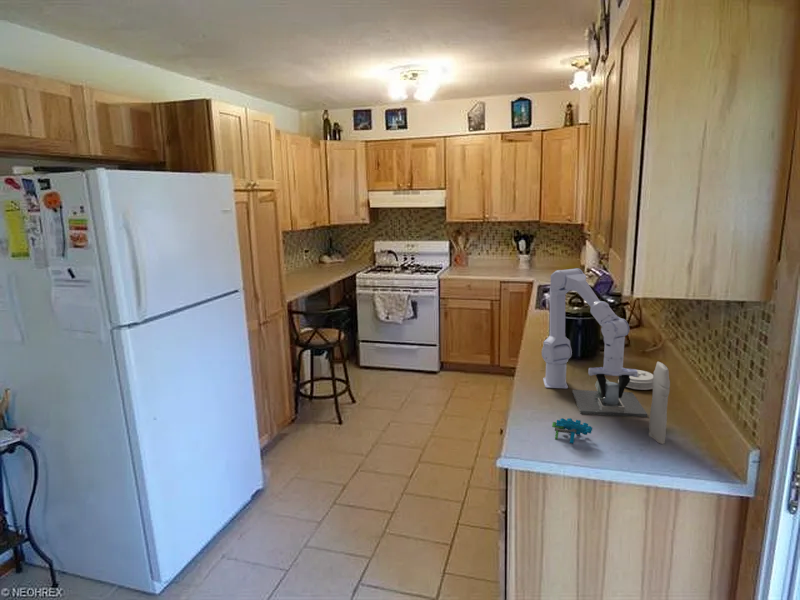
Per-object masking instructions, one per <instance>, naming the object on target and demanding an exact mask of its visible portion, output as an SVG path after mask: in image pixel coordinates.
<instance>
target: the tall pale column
mask: <svg viewBox="0 0 800 600" xmlns="http://www.w3.org/2000/svg"><path fill="white" fill-rule="evenodd" d="M652 374H653V389H652V397H651V398H652V399H651V405H650V415H649V423H648V424H649V425H648V436H649V438H652V439H654V441H656V442H657V444H660V445H665V443H666V433H667V420H668V418H667V415H668V413H667V412H668V401H669V395H670V390H671V389H670V387H671V380H670V372H669V368H668V366H667V365H666V364H664V363H663V362H660V361H657V362H656V364H655V368H654V371H653V373H652Z"/></svg>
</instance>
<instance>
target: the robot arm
mask: <svg viewBox="0 0 800 600" xmlns="http://www.w3.org/2000/svg"><path fill="white" fill-rule="evenodd" d="M570 291H574V292H576V293H577V294H578V295H579V296H580V297H581V298H582V299H583V300H584V301H585V303H587V305H588V306H589V307H590V311H589V312H590V314H591V315H592V316H593V317H594V319H595V321H596V322H597V323H598V324H599V326H600V327H601V328H600V331H601V334H602V337H603V343H604V347H603V348H604V349H603V350H604V351H603V366H600V367H599V366H598V367H588V372H587V373H588V376H595V377H596V380H598V382H599V385H600V389H601V396H602V397H605V384H606V379H607V378H606V376H611V377H613V376H614V377H618V379H619V383H618V384H619V385H620V387H619V398H622V394H623V392H625V390H626V388H627V387H626V386H627V384H628V383H629V382H630V378H629V376H633V377H637V375H638V371H637V370H638V369H636V368H625V367H624V354H625V339H626V336H628V335H629V333H630V324H629V323H628V321H627V320H626V319H625V318H621V317H620V316H618V315H617V314H616V313H615V312H614V311H613V309H612V308H611V307H610V304H609V303H608V302H606V301H602V300H600V299H599V298H598V296H597V294H596V293H595V292H594V290H593V289H592V288H591V286H590V284H589V283H588V281H587V275H586V274H585V273H584V272H583V270H582V269H581V268H577V267H574V268H569V269H558V270H557V269H556V270H555V271H554V272H552V273H551V274H550V286H549V336H547V338H546V339H544V341H543V342H542V348H541V358H542V359H543V360H544V362H545V377H543V378H542V380H543V384H544V388H547V389H566V390H567V389H568V388H569V386H568V384H567V362H569V359H570V358H572V356H573V353H572V352H573V350H572V346H571V340H570V339H569V338H567V336H566V296H567V293H569V292H570Z"/></svg>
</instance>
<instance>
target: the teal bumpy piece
mask: <svg viewBox="0 0 800 600" xmlns="http://www.w3.org/2000/svg"><path fill="white" fill-rule="evenodd" d="M581 423H582V421H581V419H580V420H579V419H576V420H575V421H574V420H573V418H570V417H569V418H567V419H565V418H559V419H557V420H556V421H553V422H552V424H551V427H552V428H554V431H555V436H554V439H555V440H558V437H559V433H566V434H570V437H569V444H571V445H573V444H574V442H575V435H577V436H578V435H579V436H580V435H581V434H582V435H585V436H587V435H588V434H592V431H593V427H592V426H591V425H589V423H587V422H583V424H581Z"/></svg>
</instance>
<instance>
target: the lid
mask: <svg viewBox="0 0 800 600" xmlns="http://www.w3.org/2000/svg"><path fill="white" fill-rule="evenodd" d="M636 370H637V371H638V375H637V377H633V376H629V378H630V382H629V383H628V384H627V386H626V388H629V389H632V390H642V391H643V390H644V391H647V390H653V374H654V373H651V372H650V371H646V370H640V369H636ZM617 383H618V384H619V378H618V380H617Z"/></svg>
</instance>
